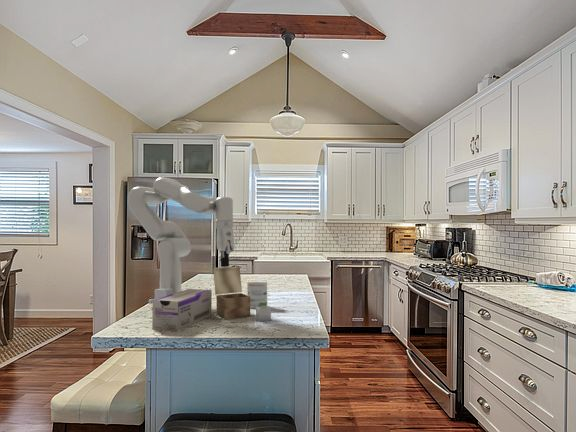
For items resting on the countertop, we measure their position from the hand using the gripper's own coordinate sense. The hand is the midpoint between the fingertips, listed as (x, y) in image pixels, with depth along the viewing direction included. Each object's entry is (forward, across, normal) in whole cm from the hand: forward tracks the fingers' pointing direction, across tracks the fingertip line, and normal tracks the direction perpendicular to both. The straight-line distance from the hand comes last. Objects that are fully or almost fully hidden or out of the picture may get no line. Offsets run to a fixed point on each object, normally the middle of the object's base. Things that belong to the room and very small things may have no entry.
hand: (224, 266), depth 169 cm
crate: (+19, -10, 0) cm, 22 cm away
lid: (+5, -6, 0) cm, 8 cm away
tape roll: (+20, -24, -7) cm, 31 cm away
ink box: (+20, -2, -15) cm, 25 cm away
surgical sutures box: (+20, -10, +21) cm, 30 cm away
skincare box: (+19, -2, +27) cm, 33 cm away
